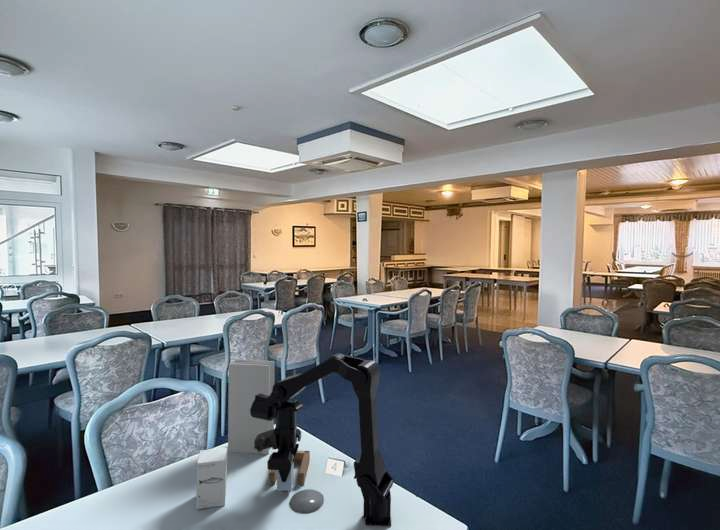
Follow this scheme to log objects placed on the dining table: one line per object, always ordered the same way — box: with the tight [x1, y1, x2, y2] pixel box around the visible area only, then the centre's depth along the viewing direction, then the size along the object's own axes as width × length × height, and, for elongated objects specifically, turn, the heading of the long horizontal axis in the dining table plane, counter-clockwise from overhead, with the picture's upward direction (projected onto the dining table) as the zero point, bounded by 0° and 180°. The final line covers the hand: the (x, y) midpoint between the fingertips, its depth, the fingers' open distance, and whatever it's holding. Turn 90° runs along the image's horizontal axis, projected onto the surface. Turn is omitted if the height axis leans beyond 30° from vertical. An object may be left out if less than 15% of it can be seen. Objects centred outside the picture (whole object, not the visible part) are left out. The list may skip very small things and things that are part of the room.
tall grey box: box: [227, 359, 276, 455], centre depth 134 cm, size 14×6×30 cm, turn 84°
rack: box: [269, 450, 311, 486], centre depth 120 cm, size 10×13×4 cm
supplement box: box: [195, 447, 228, 511], centre depth 106 cm, size 7×7×13 cm
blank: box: [276, 455, 295, 491], centre depth 111 cm, size 4×4×8 cm
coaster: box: [290, 488, 325, 513], centre depth 107 cm, size 9×9×1 cm
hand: (285, 477), depth 111 cm, fingers closed on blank, 4 cm apart
